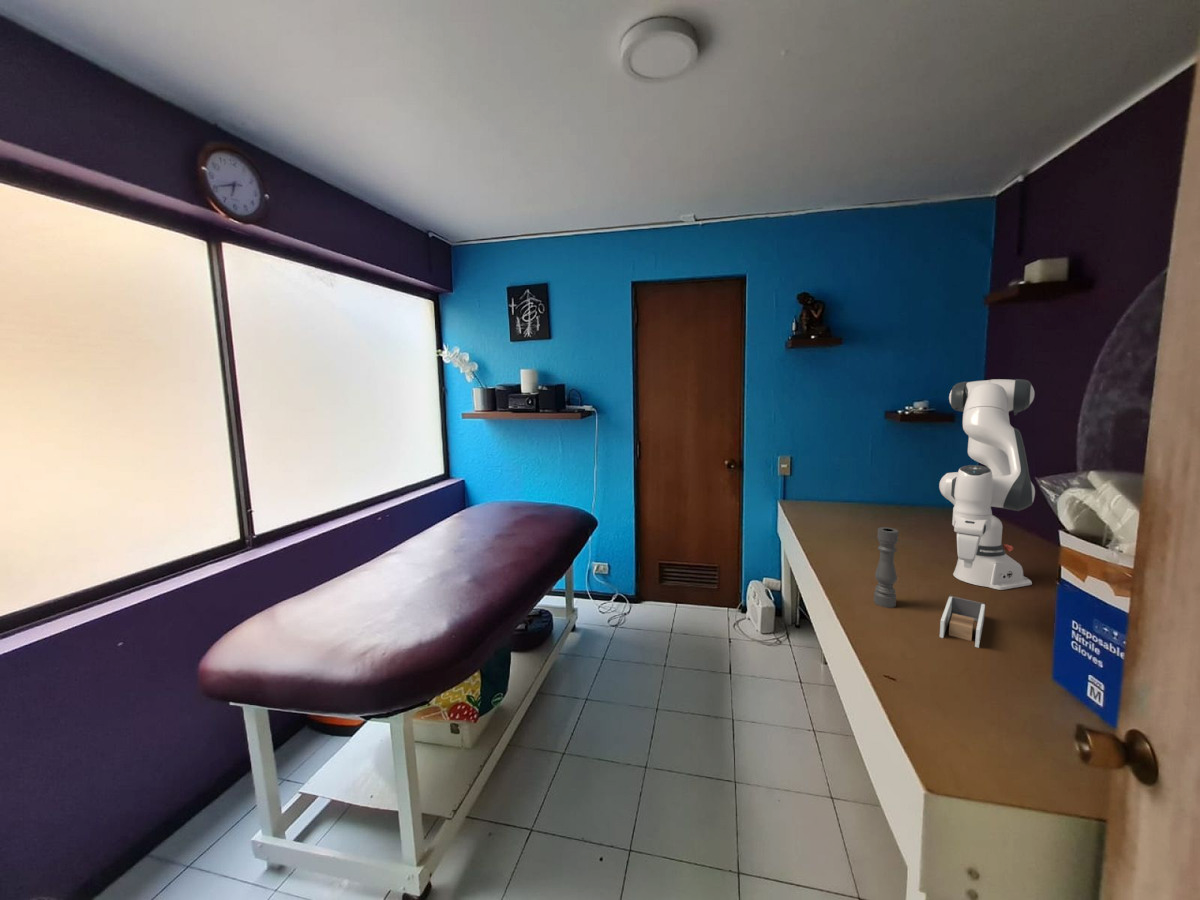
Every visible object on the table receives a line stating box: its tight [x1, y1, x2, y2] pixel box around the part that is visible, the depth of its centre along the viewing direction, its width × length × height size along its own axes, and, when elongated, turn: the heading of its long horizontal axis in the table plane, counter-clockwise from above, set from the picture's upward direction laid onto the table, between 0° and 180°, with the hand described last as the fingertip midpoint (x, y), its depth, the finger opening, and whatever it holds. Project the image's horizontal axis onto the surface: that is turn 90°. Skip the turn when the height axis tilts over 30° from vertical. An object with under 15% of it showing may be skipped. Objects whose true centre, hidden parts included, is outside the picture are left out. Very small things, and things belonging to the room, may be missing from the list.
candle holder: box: [873, 526, 899, 609], centre depth 149 cm, size 6×6×25 cm
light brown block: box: [948, 612, 975, 642], centre depth 131 cm, size 7×5×4 cm
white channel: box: [939, 595, 986, 648], centre depth 134 cm, size 20×9×5 cm, turn 137°
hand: (968, 566), depth 136 cm, fingers closed
